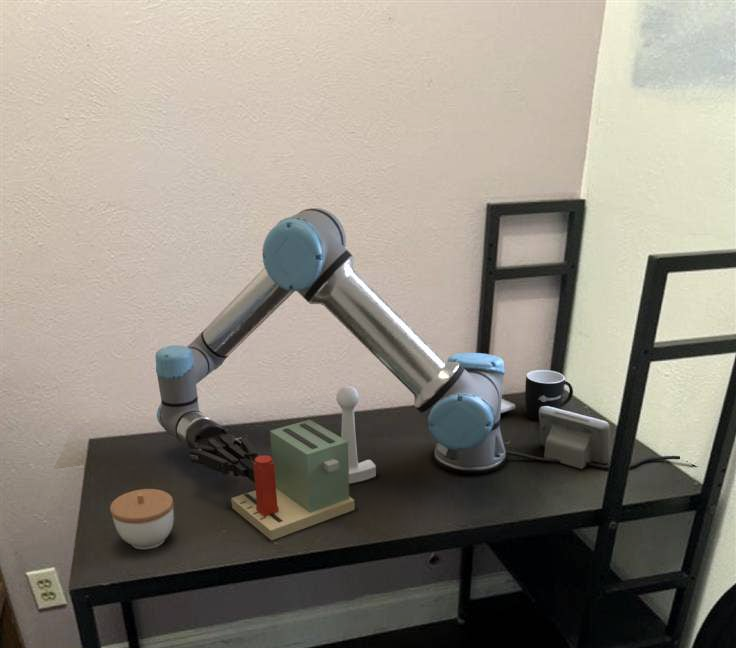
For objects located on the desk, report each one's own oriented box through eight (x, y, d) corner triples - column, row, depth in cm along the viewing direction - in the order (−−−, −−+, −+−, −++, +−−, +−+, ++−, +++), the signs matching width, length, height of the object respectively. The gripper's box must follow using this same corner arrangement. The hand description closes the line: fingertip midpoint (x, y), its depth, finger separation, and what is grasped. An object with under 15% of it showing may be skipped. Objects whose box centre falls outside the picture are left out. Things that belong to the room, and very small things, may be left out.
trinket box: (114, 559, 135) (104, 512, 131) (120, 527, 145) (111, 483, 140) (177, 553, 137) (170, 506, 132) (179, 522, 146) (172, 478, 141)
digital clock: (613, 464, 166) (621, 418, 160) (587, 477, 161) (594, 429, 156) (553, 440, 177) (558, 396, 171) (527, 451, 172) (531, 406, 166)
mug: (531, 425, 184) (535, 384, 179) (516, 411, 192) (520, 371, 186) (578, 420, 186) (583, 380, 181) (561, 406, 194) (566, 367, 189)
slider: (256, 510, 145) (251, 458, 140) (271, 505, 147) (266, 453, 142) (264, 516, 143) (259, 464, 138) (279, 511, 145) (275, 459, 139)
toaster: (231, 508, 151) (224, 440, 144) (312, 481, 160) (309, 416, 153) (273, 542, 140) (267, 471, 133) (357, 511, 149) (356, 443, 142)
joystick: (327, 487, 158) (323, 394, 148) (316, 471, 164) (311, 381, 154) (378, 478, 161) (378, 386, 151) (365, 463, 167) (364, 374, 157)
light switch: (458, 412, 191) (459, 392, 189) (488, 403, 196) (489, 384, 194) (486, 425, 184) (487, 405, 182) (516, 415, 189) (518, 396, 187)
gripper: (232, 444, 165) (291, 485, 148) (175, 460, 158) (230, 506, 142) (229, 411, 161) (289, 450, 145) (170, 426, 154) (226, 469, 138)
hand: (260, 477), depth 143 cm, fingers closed
